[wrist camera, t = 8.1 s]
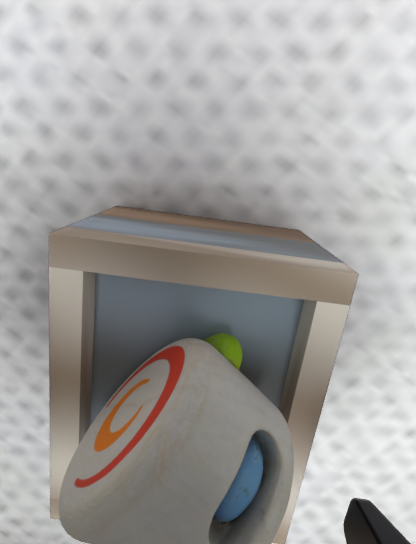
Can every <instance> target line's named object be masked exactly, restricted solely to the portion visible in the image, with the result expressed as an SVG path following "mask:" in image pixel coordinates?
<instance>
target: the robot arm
mask: <svg viewBox="0 0 416 544" xmlns="http://www.w3.org/2000/svg"><path fill="white" fill-rule="evenodd" d="M344 533H345V538H346V542H347V544H410V543H409V542H408V540H407V539H406V538H405V537H404V536H403V535H402V534H401V533H400V532H399V531H398V530H397V529H396V528H395V527H394V526H393V525H392V523H391V522H390V521H389V520H388V519H387V518H386V517H385V516H384V515H383V514H382V513H381V512H380V511H379V510H378V509H377V508H376V506H375V505H374V504H373V503H372V502H370V501H369V500H367V499H359V498H353V499H352V500H351V502H350V505H349V508H348V510H347V513H346V516H345V519H344Z"/></svg>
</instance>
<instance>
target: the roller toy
mask: <svg viewBox="0 0 416 544" xmlns="http://www.w3.org/2000/svg"><path fill="white" fill-rule="evenodd" d="M241 362H242V348H241V345H240V343H239V341H238V340H237V339H236V338H235V337H234V336H232V335H229V334H226V333H219V334H216V335H213V336H211V337H209V338H207V339H206V340H204V341H203V340H200V339H196V338H186V339H182V340H178V341H176V342H173V343H171V344H169V345H167V346H165V347H164V348H162V349H160V350H159V351H157V352H156V353H155V354H153V355H152V356H151V357H150V358H148V359H147V360H146V361H145V362H144V363H143V364H141V365H140V366H139V367H138V368H137V369H136V370H135V371H134V372H133V373H132V374H131V375H130V376H129V377H128V378H127V379H126V380H125V382H124V383H123V384H122V385H121V386H120V387H119V388H118V390H117V391H116V392H115V393H114V394H113V396H112V397H111V398H110V399H109V401H108V402H107V403H106V405H105V406H104V407H103V408H102V410H101V411H100V413H99V414H98V415H97V417H96V418H95V420H94V421H93V423H92V424H91V426H90V427H89V429H88V430H87V432H86V433H85V435H84V437H83V439H82V440H81V442H80V444H79V446H78V447H77V449H76V451H75V453H74V455H73V457H72V459H71V461H70V463H69V465H68V468H67V470H66V473H65V476H64V479H63V482H62V486H61V490H60V496H59V504H58V509H59V515H60V520H61V524H62V526H63V528H64V529H65V531H66V532H67V533H68V534H69V535H70V536H72V537H73V538H75V539H77V540H79V541H81V542H85V543H90V544H271V543H272V541H273V539H274V538H275V536H276V534H277V532H278V529H279V527H280V525H281V522H282V520H283V518H284V515H285V512H286V509H287V506H288V502H289V499H290V494H291V488H292V482H293V474H294V447H293V441H292V436H291V432H290V429H289V427H288V424H287V422H286V420H285V418H284V416H283V415H282V413H281V412H280V411H279V409H278V408H277V407H276V406H275V405H274V404H273V403H272V402H271V401H270V400H269V399H268V398H267V397H266V396H265V395H264V394H263V393H262V392H261V391H260V390H259V389H258V388H257V387H256V386H255V385H254V384H253V383H252V382H251V381H250V380H249V379H247V378H246V377H245V376H244V375H243V374H242V373H241V372H240V371H239V368H240V365H241Z"/></svg>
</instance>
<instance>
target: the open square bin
mask: <svg viewBox="0 0 416 544" xmlns="http://www.w3.org/2000/svg"><path fill="white" fill-rule="evenodd" d="M358 275H359V274H358V273H357V272H355V271H354V270H353V269H351V268H350V267H348V266H347V265H346V264H344V263H343V262H342V261H340V260H339V259H338V258H336V257H335V256H334V255H332V254H331V253H329V252H328V251H327V250H325V249H324V248H323V247H321V246H320V245H319V244H317V243H316V242H314V241H313V240H312V239H310V238H309V237H308V236H306V235H305V234H304V233H302V232H301V231H300V230H293V229H286V228H278V227H271V226H263V225H256V224H248V223H241V222H233V221H226V220H218V219H211V218H203V217H196V216H189V215H181V214H174V213H166V212H159V211H151V210H144V209H136V208H129V207H121V206H115V207H113V208H110V209H108V210H105V211H103V212H100V213H98V214H95V215H93V216H90V217H88V218H86V219H83V220H81V221H78V222H76V223H73V224H71V225H68V226H66V227H63V228H61V229H58V230H56V231H53V232H51V233H49V371H50V518H52V519H60V515H59V509H58V504H59V496H60V490H61V486H62V482H63V479H64V476H65V473H66V470H67V468H68V465H69V463H70V461H71V459H72V457H73V455H74V453H75V451H76V449H77V447H78V446H79V444H80V442H81V440H82V439H83V437H84V435H85V433H86V432H87V430H88V429H89V427H90V426H91V424H92V423H93V421H94V420H95V418H96V417H97V415H98V414H99V413H100V411H101V410H102V408H103V407H104V406H105V405H106V403H107V402H108V401H109V399H110V398H111V397H112V396H113V394H114V393H115V392H116V391H117V390H118V388H119V387H120V386H121V385H122V384H123V383H124V382H125V380H126V379H127V378H128V377H129V376H130V375H131V374H132V373H133V372H134V371H135V370H136V369H137V368H138V367H139V366H140V365H141V364H143V363H144V362H145V361H146V360H147V359H148V358H150V357H151V356H152V355H153V354H155V353H156V352H157V351H159V350H160V349H162V348H164V347H165V346H167V345H169V344H171V343H173V342H176V341H178V340H182V339H186V338H196V339H200V340H203V341H204V340H206V339H207V338H209V337H211V336H213V335H216V334H219V333H226V334H229V335H232V336H234V337H235V338H236V339H237V340H238V341H239V343H240V345H241V348H242V362H241V365H240V368H239V371H240V372H241V373H242V374H243V375H244V376H245V377H246V378H247V379H249V380H250V381H251V382H252V383H253V384H254V385H255V386H256V387H257V388H258V389H259V390H260V391H261V392H262V393H263V394H264V395H265V396H266V397H267V398H268V399H269V400H270V401H271V402H272V403H273V404H274V405H275V406H276V407H277V408H278V409H279V411H280V412H281V413H282V415H283V416H284V418H285V420H286V422H287V424H288V427H289V429H290V432H291V436H292V441H293V447H294V474H293V482H292V488H291V494H290V499H289V502H288V506H287V509H286V512H285V515H284V518H283V520H282V522H281V525H280V527H279V529H278V532H277V534H276V536H275V538H274V539H273V541H272V543H278V544H285V542H286V538H287V534H288V531H289V527H290V523H291V520H292V516H293V512H294V509H295V505H296V501H297V498H298V494H299V490H300V487H301V483H302V480H303V476H304V472H305V469H306V465H307V461H308V458H309V454H310V450H311V447H312V443H313V439H314V436H315V432H316V428H317V425H318V421H319V417H320V414H321V410H322V406H323V403H324V399H325V395H326V392H327V388H328V385H329V381H330V377H331V374H332V370H333V366H334V363H335V359H336V355H337V352H338V348H339V344H340V341H341V337H342V333H343V330H344V326H345V322H346V319H347V315H348V311H349V308H350V304H351V300H352V297H353V293H354V290H355V286H356V282H357V279H358Z"/></svg>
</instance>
